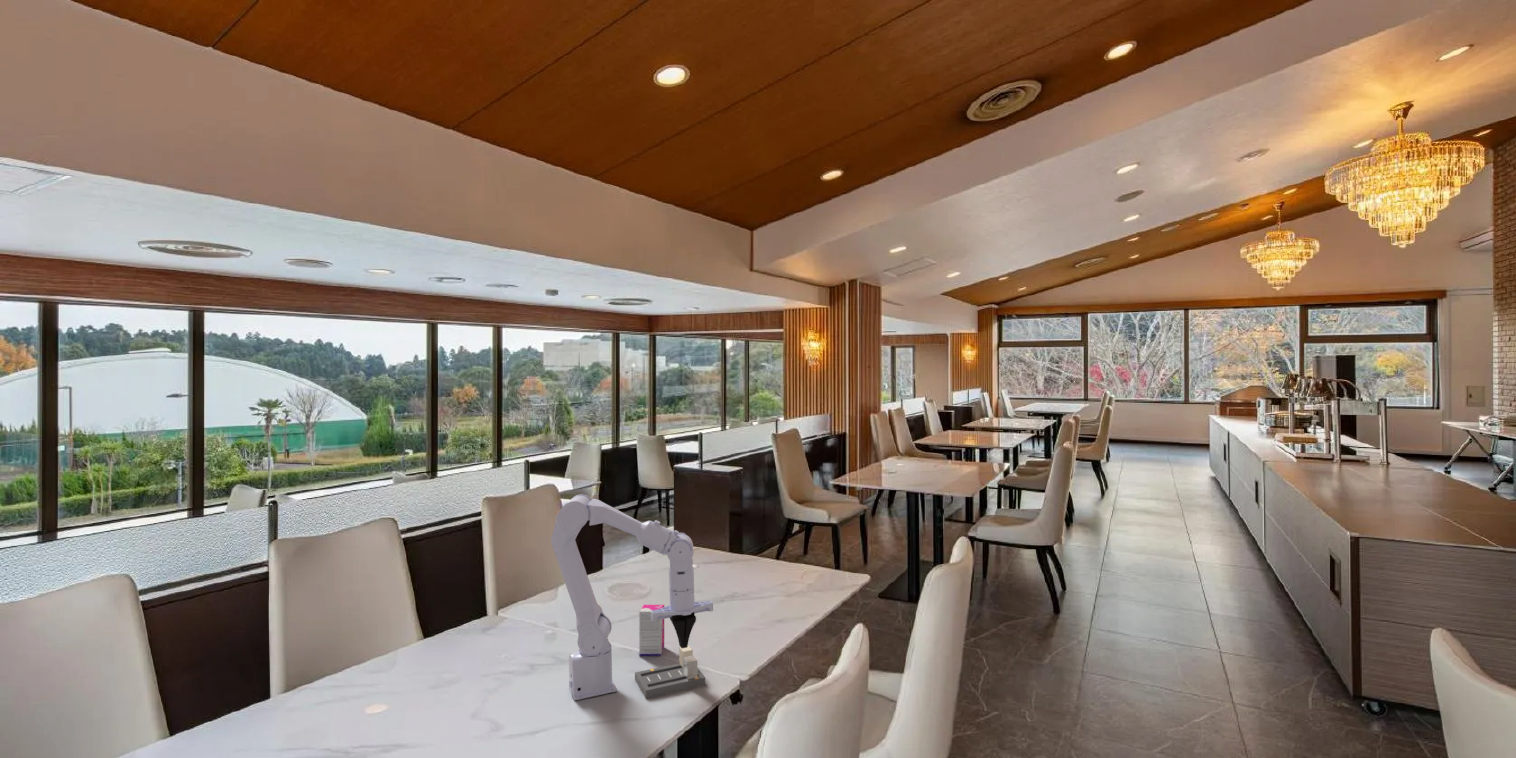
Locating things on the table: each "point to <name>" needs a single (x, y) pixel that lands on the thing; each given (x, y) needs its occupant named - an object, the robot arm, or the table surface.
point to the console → (666, 680)
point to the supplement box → (650, 632)
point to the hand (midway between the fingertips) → (683, 646)
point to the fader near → (690, 667)
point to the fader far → (684, 654)
